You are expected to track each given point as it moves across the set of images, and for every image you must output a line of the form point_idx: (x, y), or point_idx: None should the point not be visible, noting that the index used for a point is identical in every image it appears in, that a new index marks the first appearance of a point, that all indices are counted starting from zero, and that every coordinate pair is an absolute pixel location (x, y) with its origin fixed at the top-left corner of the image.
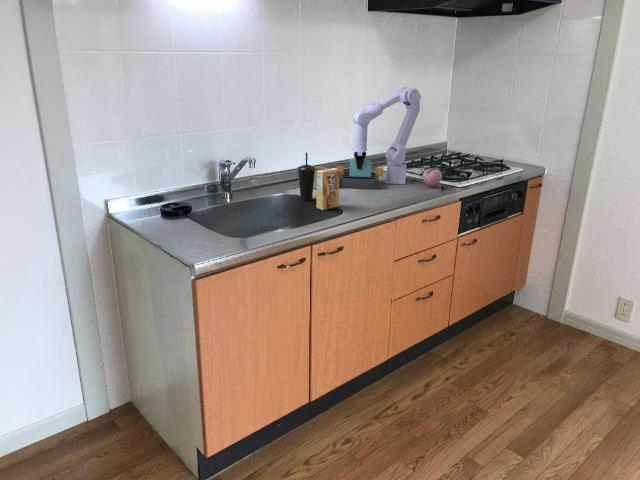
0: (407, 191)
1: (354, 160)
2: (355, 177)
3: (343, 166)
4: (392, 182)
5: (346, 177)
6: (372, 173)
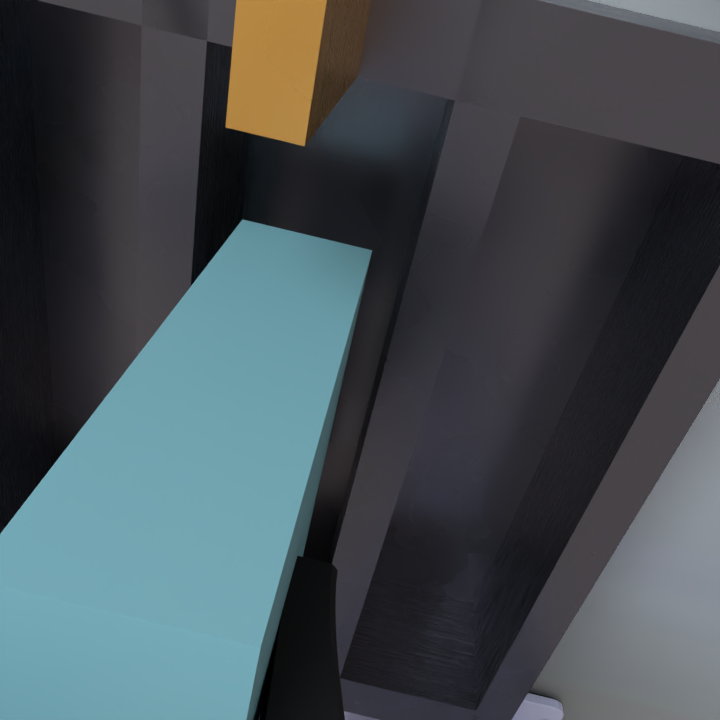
0: None
1: (2, 701)
2: (141, 341)
3: (264, 135)
4: (346, 714)
5: (149, 130)
6: (489, 670)
